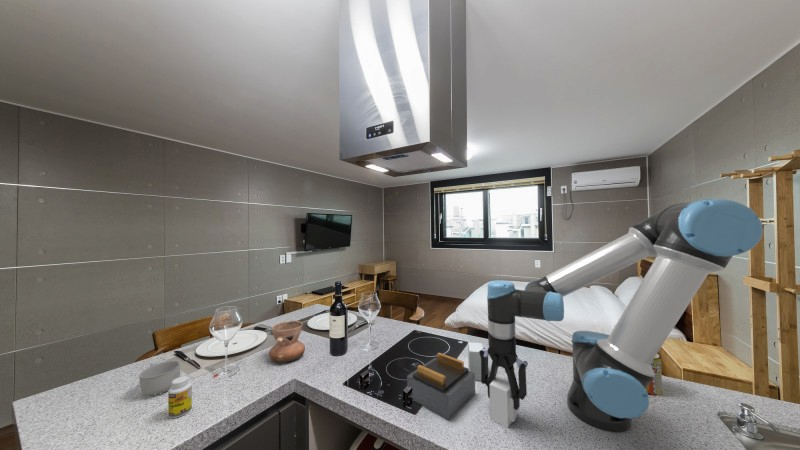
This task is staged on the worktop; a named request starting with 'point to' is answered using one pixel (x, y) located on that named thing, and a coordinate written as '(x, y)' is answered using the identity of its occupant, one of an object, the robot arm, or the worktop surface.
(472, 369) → the small box
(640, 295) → the robot arm
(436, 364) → the grey fixture base
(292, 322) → the ceramic jug
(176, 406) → the supplement bottle
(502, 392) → the block
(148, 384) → the gray oval bowl
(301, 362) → the worktop surface
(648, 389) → the beverage can
